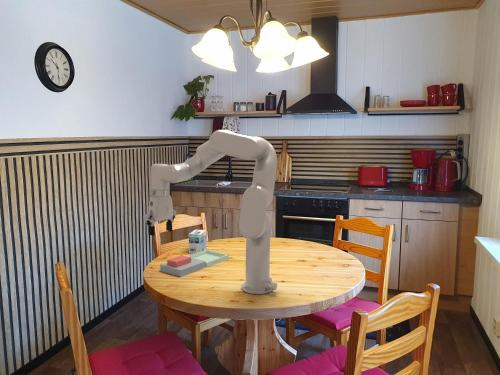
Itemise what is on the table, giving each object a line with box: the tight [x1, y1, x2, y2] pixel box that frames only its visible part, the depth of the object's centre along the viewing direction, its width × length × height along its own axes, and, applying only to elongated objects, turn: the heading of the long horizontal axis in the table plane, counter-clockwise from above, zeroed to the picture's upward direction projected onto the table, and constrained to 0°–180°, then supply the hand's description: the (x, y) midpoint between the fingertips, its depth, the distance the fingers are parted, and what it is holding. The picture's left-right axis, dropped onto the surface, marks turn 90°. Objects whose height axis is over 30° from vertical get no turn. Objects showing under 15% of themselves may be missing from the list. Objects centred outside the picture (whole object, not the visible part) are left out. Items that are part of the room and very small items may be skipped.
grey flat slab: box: [159, 258, 207, 278], centre depth 177 cm, size 13×16×3 cm
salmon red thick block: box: [166, 254, 191, 268], centre depth 176 cm, size 6×9×2 cm, turn 144°
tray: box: [186, 249, 230, 268], centre depth 191 cm, size 15×16×2 cm
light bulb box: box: [188, 228, 208, 255], centre depth 205 cm, size 11×7×11 cm, turn 168°
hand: (160, 233), depth 165 cm, fingers open, 9 cm apart
